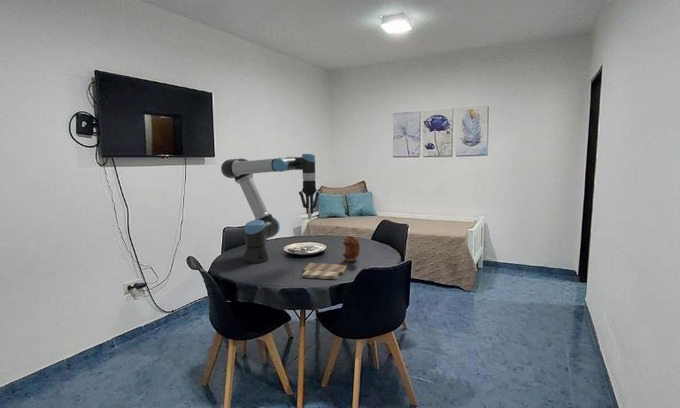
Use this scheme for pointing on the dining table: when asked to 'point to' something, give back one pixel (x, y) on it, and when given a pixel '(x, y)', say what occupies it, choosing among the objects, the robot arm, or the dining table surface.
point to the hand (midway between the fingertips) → (310, 219)
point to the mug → (351, 248)
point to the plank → (321, 274)
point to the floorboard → (326, 267)
